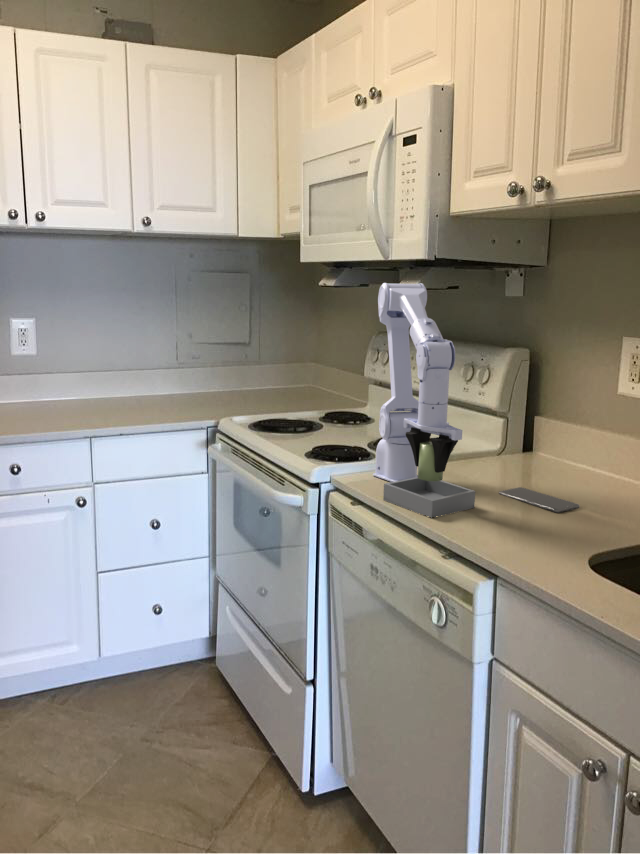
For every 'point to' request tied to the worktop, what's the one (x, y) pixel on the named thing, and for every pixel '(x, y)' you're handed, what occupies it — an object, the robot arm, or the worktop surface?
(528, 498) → the smartphone
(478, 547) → the worktop surface
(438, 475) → the green cylinder
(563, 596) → the worktop surface
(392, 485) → the grey bin
